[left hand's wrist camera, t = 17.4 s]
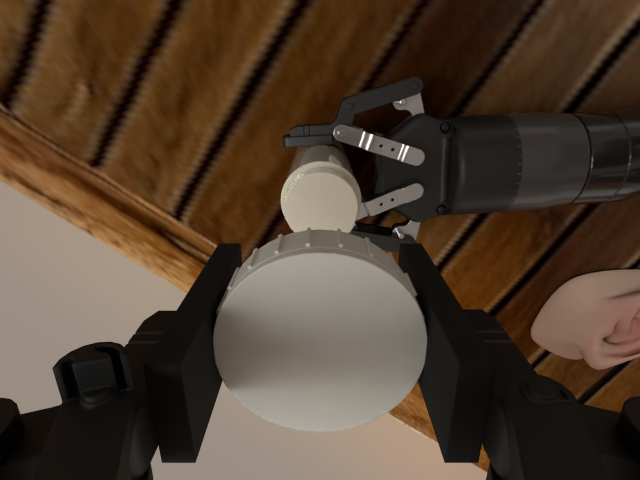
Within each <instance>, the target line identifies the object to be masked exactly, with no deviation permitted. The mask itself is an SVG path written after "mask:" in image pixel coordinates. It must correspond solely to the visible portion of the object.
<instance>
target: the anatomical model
mask: <svg viewBox="0 0 640 480" xmlns="http://www.w3.org/2000/svg"><path fill="white" fill-rule="evenodd" d="M531 337H532V339H533V340H534V341H535V342H536V343H537V344H539V345H540V346H541V347H543V348H545V349H547V350H548V351H550V352H552V353H554V354H556V355H559V356H562V357H565V358H568V359H582V358H584V360H585V361H586V362H587V363H588V365H590V366H591V367H592V368H594V369H599V370H600V369H606V368H609V367H612V366H615V365H617V364H620V363H623V362H626V361H629V360H632V359H634V358H637V357H640V269H624V270H610V271H601V272H594V273H589V274H584V275H581V276H578V277H575V278H573V279H571V280H569V281H567V282H566V283H564V284H563V285H561V286H560V287H559V288H558V289H557V290H556V291H555V292H554V293H553V294H552V295H551V296H550V298H549V299H548V300H547V301H546V303H545V304H544V306H543V307H542V309H541V310H540V312H539V314H538V315H537V317H536V319H535V321H534V323H533V325H532V328H531Z"/></svg>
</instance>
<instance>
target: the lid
mask: <svg viewBox="0 0 640 480" xmlns="http://www.w3.org/2000/svg"><path fill="white" fill-rule="evenodd" d="M227 289H228V290H226V292H225V294H224V296H223V298H222V300H221V302H220V305H219V307H218V309H217V312H216V314H218V315H217V319H216V322H215V326H214V332H213V346H214V354H215V362H216V366H217V368H218V371H219V374H220V376H221V378H222V379H223V381H224V383H225V385H226V386H227V388H228V389H229V390H230V392H231V393H232V394H233V395H234V396H235V397H236V398H237V400H238V401H239V402H240V403H241V404H243V405H244V406H245V407H246V408H248V409H249V410H250V411H252V412H253V413H255V414H256V415H258V416H260V417H261V418H263V419H265V420H267V421H270V422H272V423H274V424H277V425H280V426H283V427H286V428H290V429H294V430H300V431H307V432H334V431H340V430H347V429H350V428H354V427H358V426H361V425H363V424H366V423H369V422H371V421H373V420H375V419H377V418H379V417H381V416H383V415H384V414H386V413H387V412H389V411H390V410H392V409H393V408H394V407H395V406H397V405H398V404H399V403H400V402H401V401H402V400H403V399H404V398H405V397H406V396H407V395H408V394H409V392H410V391H411V390H412V388H413V387H414V385H415V384H416V382H417V380H418V378H419V377H420V375H421V373H422V370H423V367H424V364H425V357H426V348H427V339H428V336H427V328H426V324H425V320H424V319H425V317H424V315H423V312H422V310H421V308H420V306H419V303H418V301H417V299H416V297H415V296H416V295H417V293H416V291H415V289H414V287H413V285H412V283H411V280H410V278H409V276H408V274H407V273H405V274H404V273H403V271H402V270H401V269H400V267H399V266H398V264H397V263H396V262H395V261H394V258H393V256H392V254H391V253H390V252H389V253H388V254H387V253H386V252H384V251H383V250H382V249H381V248H379V247H378V246H376V245H374V244H373V243H371V242H370V240H369V238H367V237H365V239H363V238H361V237H359V236H356V235H352V234H349V233H346V232H341V229H338V228H337V231H335V230H320V229H318V230H311V228H307V230H305V231H300V232H295V233H291V234H288V235H285V236H283V235H282V234H280V235H278V238H277V239H275V240H273V241H271V242H269V243H267V244H266V245H264V246H263V247H261V248H260V249H257V248H255V249H254V251H253V253H252V255H251V256H250V257H249V258H248V259H247V260H246V262H245V263H244V264H243V265H242V266H241V268H239V267H237V268H236V270H235V272H234V275H233V277H232V279H231V281H230V283H229V286H228V288H227Z"/></svg>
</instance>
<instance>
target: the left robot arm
mask: <svg viewBox="0 0 640 480" xmlns="http://www.w3.org/2000/svg"><path fill="white" fill-rule="evenodd" d="M241 266H242V257H241V245H240V244H219V245H218V246H217V248H216V249H215V251H214V252H213V254H212V256H211V257H210V259H209V260H208V262H207V264H206V265H205V267H204V268H203V270H202V271H201V273H200V275H199V276H198V278H197V279H196V281H195V282H194V284H193V286H192V287H191V289H190V290H189V292H188V294H187V295H186V297H185V298H184V300H183V301H182V303H181V305H180V306H179V308H178V309H177V311H158V312H156V313H155V314H153V315H152V316H150V317H149V318H147V319H146V320H144V321H143V323H142V324H141V326H140V327H139V328H138V330H137V331H136V334H134V335H133V336H132V338H131V339H130V340H129V342H128V344H126V346H125V347H123V346H122V345H121V344H118V343H114V342H98V343H94V344H89V345H85V346H82V347H80V348H78V349H76V350H73V351H71V352H69V353H68V354H67V355H65V356H64V357H62V358H61V359H60V360H59V361H58V362H57V363H56V364H55V366H54V367H53V372H54V375H55V378H56V382H57V385H58V388H59V392H60V395H61V398H62V404H61V405H59V406H55V407H52V408H47V409H43V410H38V411H34V412H29V413H25V414H20V412H19V409H18V406H17V404H16V403H15V402H14V401H12V400H11V399H6V398H0V480H153V474H152V468H151V460H152V458H153V456H154V454H155V451H156V449H157V447H158V445H159V450H160V455H161V460H162V463H195V462H196V459H197V456H198V453H199V450H200V447H201V444H202V441H203V438H204V435H205V432H206V429H207V426H208V423H209V420H210V417H211V414H212V411H213V408H214V405H215V402H216V399H217V395H218V393H219V389H220V386H221V383H222V380H223V379H222V378H221V376H220V374H219V371H218V368H217V366H216V362H215V354H214V346H213V332H214V326H215V322H216V319H217V315H218V314H216V312H217V309H218V307H219V305H220V302H221V300H222V298H223V296H224V294H225V292H226V290H228V289H227V288H228V286H229V283H230V281H231V279H232V277H233V275H234V272H235V270H236V268H237V267H239V268H241ZM398 266H399V267H400V269H401V270H402V271H403V273H404V274H405V273H407V274H408V276H409V278H410V280H411V283H412V285H413V287H414V289H415V291H416V293H417V295H416V296H415V297H416V299H417V301H418V303H419V306H420V308H421V310H422V312H423V315H424V317H425V319H424V320H425V324H426V328H427V336H428V339H427V348H426V357H425V364H424V367H423V370H422V373H421V375H420V377H419V378H418V383H419V386H420V389H421V392H422V395H423V398H424V401H425V404H426V407H427V410H428V413H429V416H430V419H431V422H432V425H433V428H434V431H435V434H436V437H437V440H438V443H439V446H440V449H441V453H442V456H443V459H444V462H445V463H478V461H479V456H480V451H481V446H482V444H483V447H484V449H485V451H486V453H487V456H488V458H489V460H490V463H489V468H488V473H487V478H486V480H640V396H638V397H630V398H629V399H628V400H627V401H625V402H624V404H623V407H622V410H621V413H619V412H614V411H610V410H605V409H601V408H596V407H592V406H587V405H584V404H580V403H578V401H577V400H576V398H575V397H574V395H573V394H572V392H571V391H569V390H568V389H567V388H566V387H564V386H563V385H562V384H560V383H558V382H556V381H554V380H552V379H550V378H548V377H545V376H542V375H538V374H537V373H536V372H535V370H534V369H533V368H532V366H531V365H530V364H529V362H528V361H527V360H526V358H525V357H524V356H523V354H522V353H521V352H520V350H519V349H518V348H517V346H516V345H515V344H514V343H512V340H511V338H510V337H509V336H508V334H507V333H505V330H504V329H503V328H502V326H501V325H500V324H499V322H498V321H497V320H496V319H495V318H494V317H492V316H491V315H489V314H488V313H486V312H485V311H483V310H463V309H462V307H461V306H460V304H459V303H458V301H457V299H456V298H455V296H454V295H453V293H452V292H451V290H450V288H449V287H448V285H447V284H446V282H445V280H444V279H443V277H442V276H441V274H440V273H439V271H438V269H437V268H436V266H435V265H434V263H433V262H432V260H431V258H430V257H429V255H428V254H427V252H426V250H425V249H424V247H423V246H422V244H400V248H399V260H398Z"/></svg>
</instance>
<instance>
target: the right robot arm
mask: <svg viewBox="0 0 640 480" xmlns="http://www.w3.org/2000/svg"><path fill="white" fill-rule="evenodd" d="M422 89H423V82H422V80H421V79H420V78H419V77H407V78H404V79H401V80H398V81H395V82H392V83H388V84H385V85H382V86H379V87H376V88H373V89H370V90H367V91H364V92H361V93H358V94H355V95H352V96H348V97H345V98H343V99H342V100H341V102H340V106H339V110H338V113H337V116H336V118H335V120H334V121H332V122H330V123H323V124H307V125H297V126H295V127H293V128H291V129H290V134H288V135H284V136H283V147H299V146H315V145H331V144H332V141H340V142H343V143H347V144H350V145H353V146H356V147H359V148H362V149H364V150H367V151H370V152H372V153H373V163H374V166H375V172H374V176H373V187H372V188H369V189H367V190H364V191H362V192H361V208H360V212H359V215H358V217H357V219H356V220H358V219H361V218H363V217H366V216H374V215H376V214H379V213H381V212H383V211H386V210H388V209H391V208H392V209H394V210H395V211H397V212H398V213H400V214H401V215H403V216H405V217H406V218H407V219H406V221H404V222H402V223H395V224H393V225H392V227H391V228H389V227H383V226H377V225H371V224H365V223H359V222H356V221H355V226H354V227H353V229H352V230H351V232H349V234H352V235H356V236H359V237H361V238H363V239H365V237H367V238H369V240H370V242H371V243H373V244H374V245H376V246H378V247H379V248H381V249H382V250H388V251H394V252H399V248H400V244H417V243H416V237H417V234H418V230H419V227H420V223H421V222H423V221H426V220H427V219H429V218H431V217H433V216H437V215H457V214H474V213H492V212H509V211H526V210H537V209H542V208H547V207H552V206H559V205H574V204H591V203H605V202H616V201H622V200H626V199H629V198H632V197H634V196H636V195H638V194H640V103H638V104H635V105H632V106H630V107H627V108H624V109H621V110H616V111H595V112H580V113H548V112H527V113H521V112H509V113H506V114H494V115H478V116H463V117H447V118H436V117H433V116H431V115H429V114H427V113H424V108H423V103H422V99H421V94H420V92H421V91H422ZM389 103H391V104H392V106H393V107H394V108H395V109H397V110H407V111H408V112H409V114H410V116H408V117H407V118H406V119H405V120H404V121H402V122H401V123H400V124H399V125H397V126H396V127H395V128H394V129H392V130H391V131H390V132H389V133H387V134H386V135H383V134H380V133H377V132H374V131H370V130H367V129H363V128H359V127H356V126H353V125H352V123H353V120H354V117H355V114H358V113H361V112H364V111H367V110H370V109H373V108H376V107H380V106H383V105H386V104H389ZM375 194H376V195H375ZM380 203H382V204H380Z"/></svg>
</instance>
